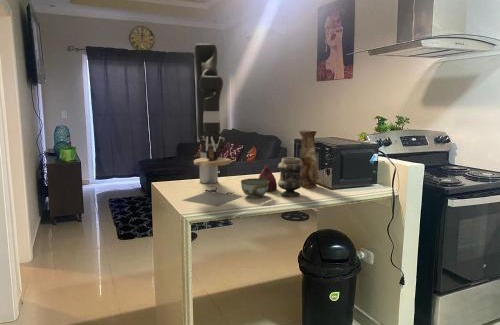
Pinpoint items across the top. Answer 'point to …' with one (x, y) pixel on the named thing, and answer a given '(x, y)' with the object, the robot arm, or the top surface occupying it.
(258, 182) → the bowl
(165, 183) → the top surface
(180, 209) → the top surface
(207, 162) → the lid
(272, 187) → the vegetable
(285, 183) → the apothecary jar
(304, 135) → the vase
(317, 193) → the top surface
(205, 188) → the top surface
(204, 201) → the mat
